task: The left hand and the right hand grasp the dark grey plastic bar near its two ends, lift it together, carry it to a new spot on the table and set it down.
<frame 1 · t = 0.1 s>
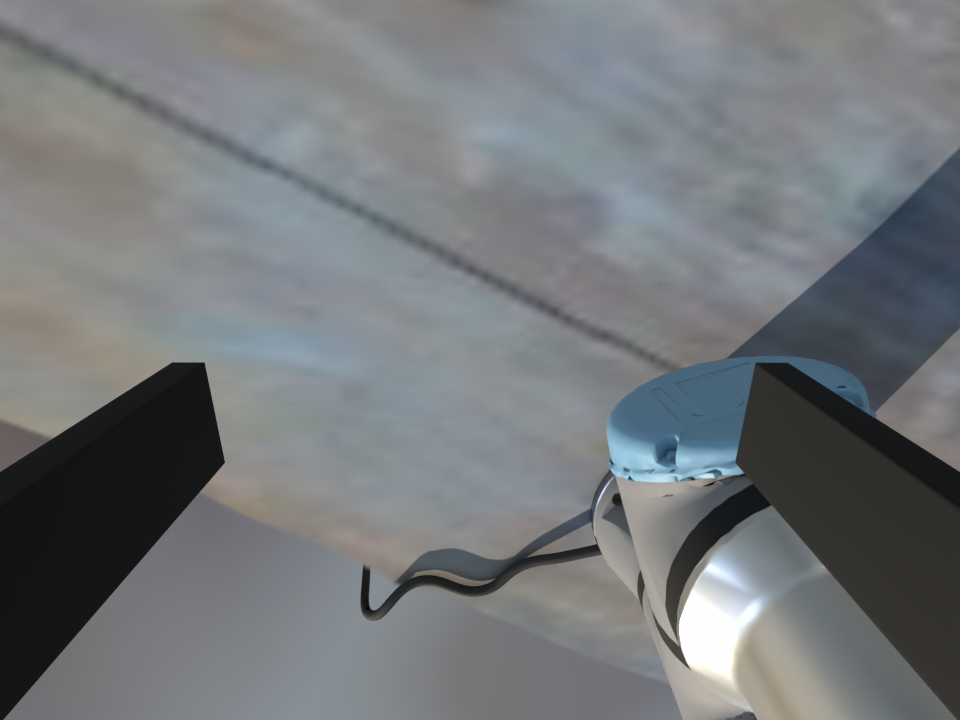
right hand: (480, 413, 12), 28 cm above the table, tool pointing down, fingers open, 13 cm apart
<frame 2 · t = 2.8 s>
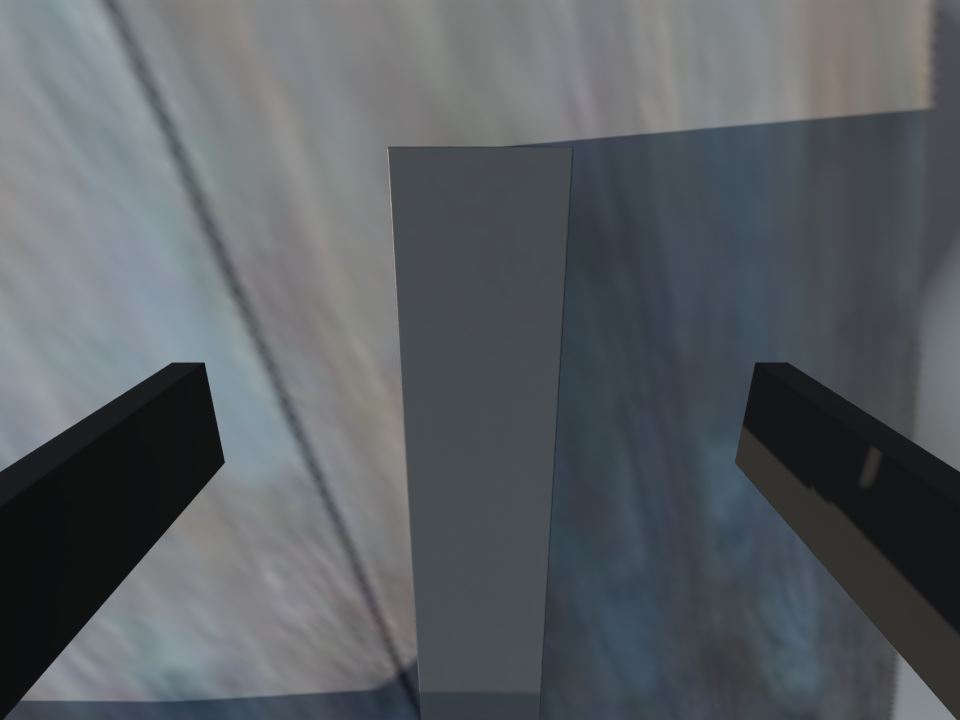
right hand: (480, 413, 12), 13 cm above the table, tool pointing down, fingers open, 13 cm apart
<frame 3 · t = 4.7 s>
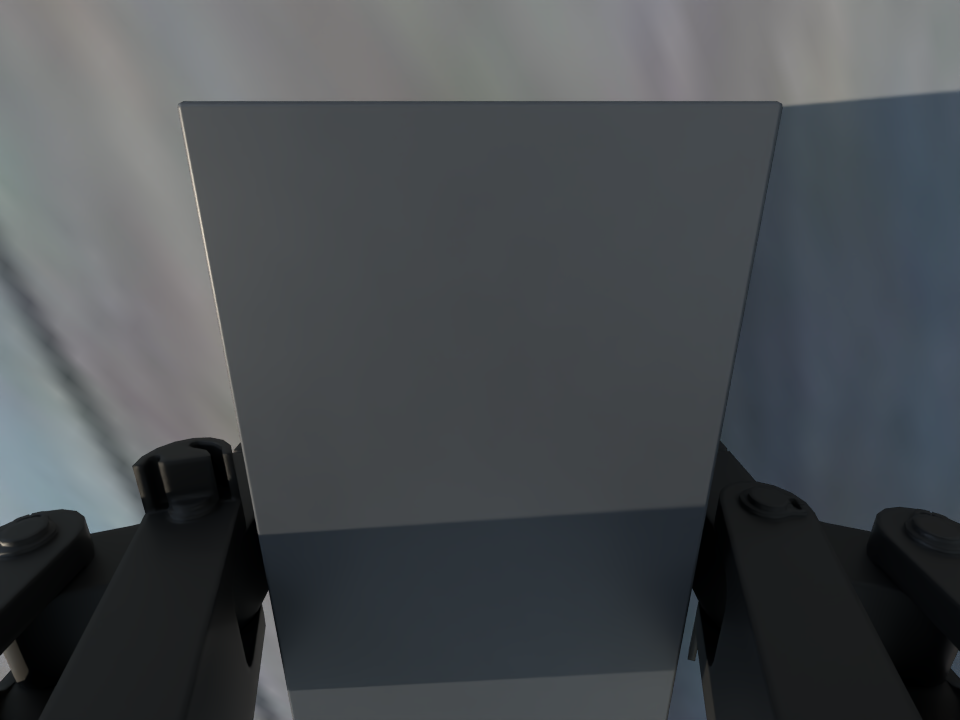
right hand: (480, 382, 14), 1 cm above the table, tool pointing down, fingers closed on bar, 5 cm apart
when the left hand's fingers open (2 cm above the table, at t = 9.0 s): bar drops 1 cm, on the table.
when the right hand's fingers open (2 cm above the table, at t = 9.0 s): bar drops 1 cm, on the table.
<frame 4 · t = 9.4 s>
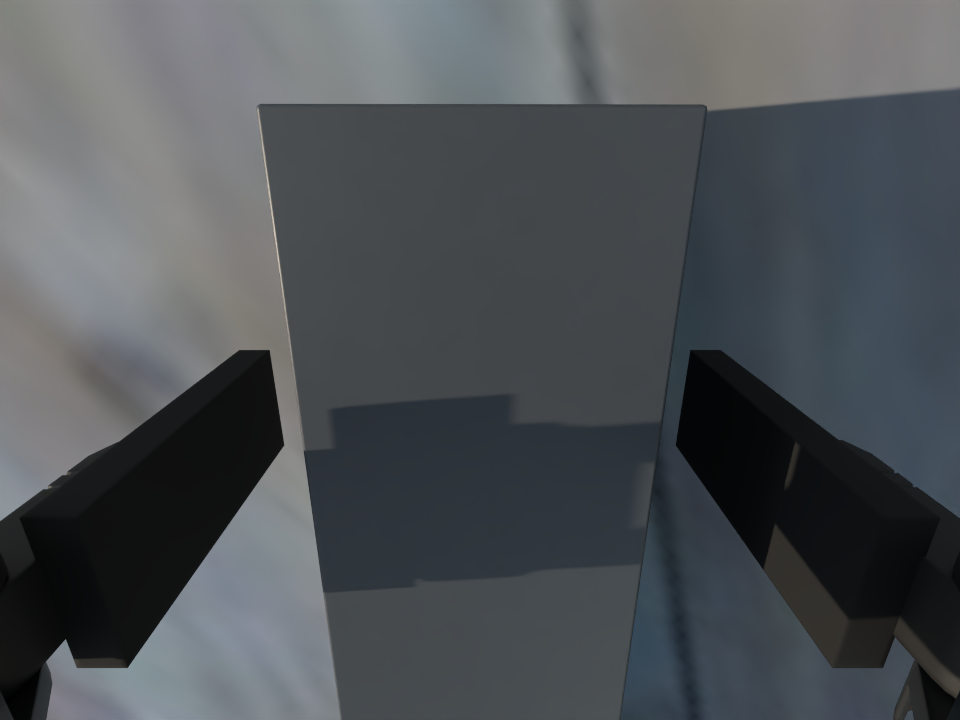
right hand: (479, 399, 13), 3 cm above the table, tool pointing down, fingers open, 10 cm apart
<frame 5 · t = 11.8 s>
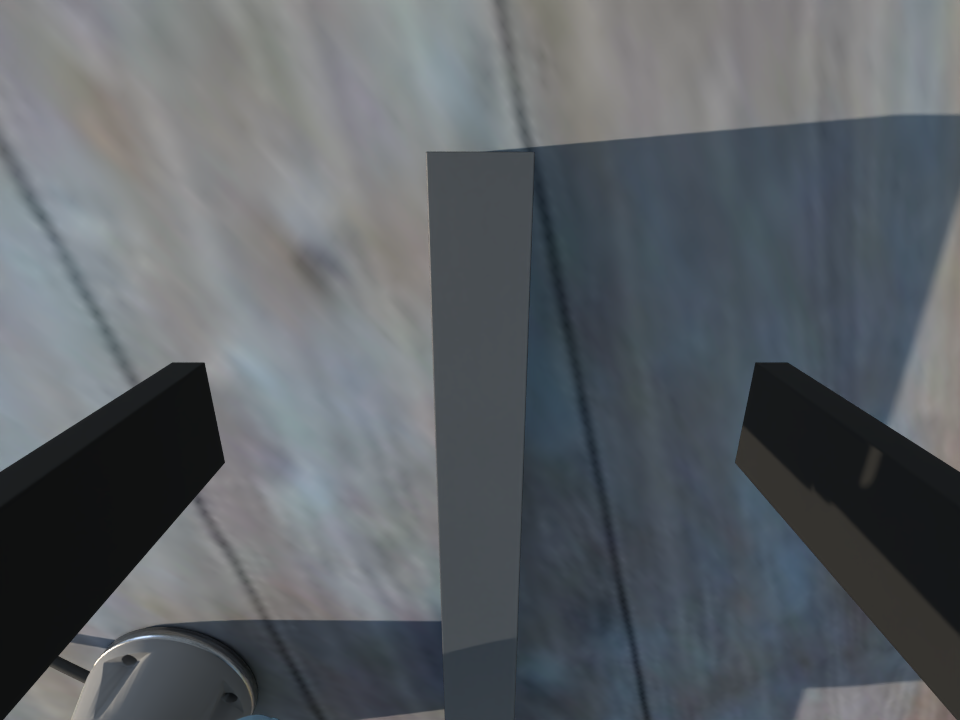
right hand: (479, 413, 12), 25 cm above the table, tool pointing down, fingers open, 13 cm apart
bar: (479, 606, 47), on the table
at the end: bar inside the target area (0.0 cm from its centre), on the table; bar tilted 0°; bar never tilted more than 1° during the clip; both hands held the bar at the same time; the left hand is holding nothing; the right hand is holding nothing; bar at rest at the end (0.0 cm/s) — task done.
